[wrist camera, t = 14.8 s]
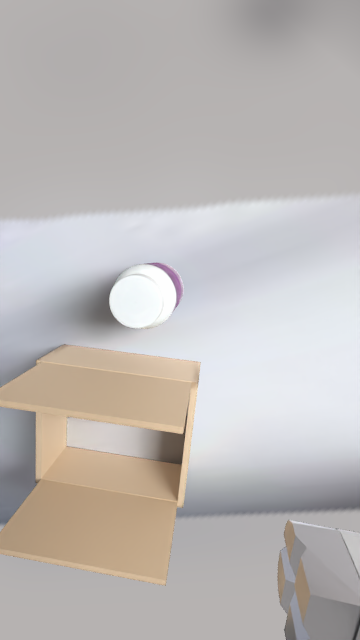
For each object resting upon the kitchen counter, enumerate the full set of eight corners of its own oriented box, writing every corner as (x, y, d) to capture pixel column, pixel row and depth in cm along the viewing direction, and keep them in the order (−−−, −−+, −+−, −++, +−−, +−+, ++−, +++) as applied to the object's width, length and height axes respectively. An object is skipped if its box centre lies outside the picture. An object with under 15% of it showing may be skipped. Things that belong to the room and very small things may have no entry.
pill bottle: (149, 252, 31) (122, 249, 22) (193, 280, 31) (185, 290, 22) (123, 296, 32) (86, 312, 23) (166, 323, 32) (147, 351, 23)
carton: (200, 362, 33) (192, 428, 20) (187, 470, 36) (173, 587, 23) (63, 344, 34) (-25, 395, 21) (61, 449, 37) (-19, 550, 24)
